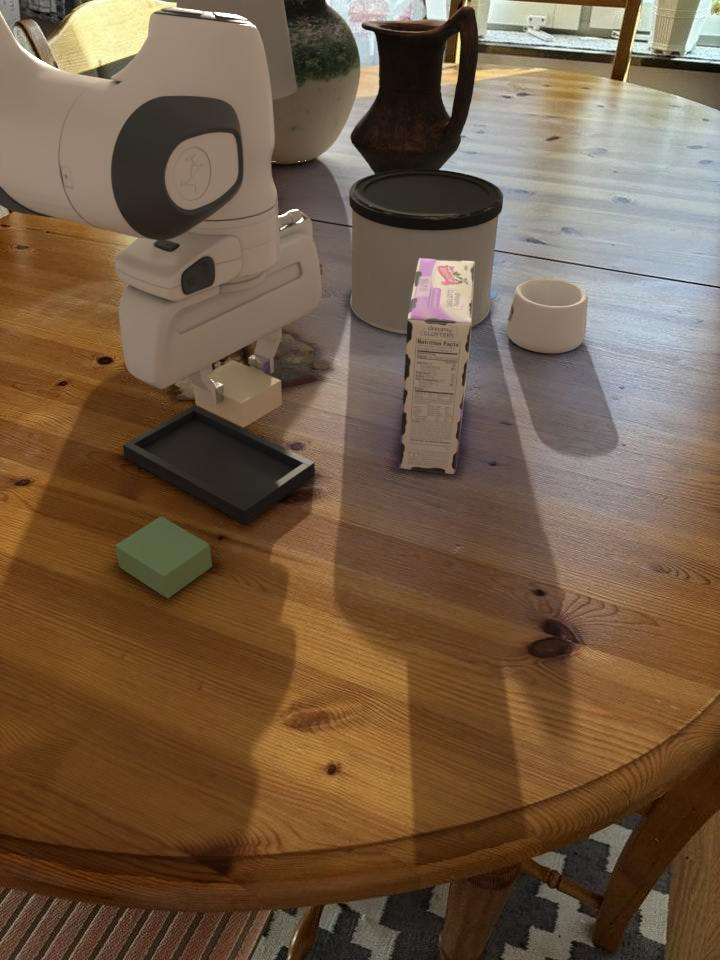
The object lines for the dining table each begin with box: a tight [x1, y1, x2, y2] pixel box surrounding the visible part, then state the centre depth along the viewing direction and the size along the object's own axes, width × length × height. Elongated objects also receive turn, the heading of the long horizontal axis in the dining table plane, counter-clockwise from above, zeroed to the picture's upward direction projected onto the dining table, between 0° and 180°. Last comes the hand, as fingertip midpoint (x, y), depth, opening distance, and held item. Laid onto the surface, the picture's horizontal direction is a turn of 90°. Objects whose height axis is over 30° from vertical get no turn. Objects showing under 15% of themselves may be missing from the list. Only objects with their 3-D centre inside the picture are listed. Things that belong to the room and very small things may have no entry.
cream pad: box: [193, 360, 283, 429], centre depth 77 cm, size 5×6×2 cm
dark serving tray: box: [122, 404, 316, 525], centre depth 84 cm, size 10×17×2 cm, turn 52°
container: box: [348, 169, 504, 335], centre depth 110 cm, size 19×19×15 cm
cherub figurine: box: [174, 261, 329, 401], centre depth 96 cm, size 18×18×18 cm
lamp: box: [176, 0, 297, 174], centre depth 136 cm, size 19×19×34 cm
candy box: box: [398, 258, 475, 475], centre depth 84 cm, size 14×6×16 cm, turn 172°
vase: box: [271, 0, 361, 165], centre depth 158 cm, size 28×28×30 cm
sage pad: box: [115, 515, 213, 599], centre depth 72 cm, size 5×6×2 cm
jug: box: [350, 5, 479, 174], centre depth 140 cm, size 21×18×30 cm
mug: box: [505, 278, 589, 354], centre depth 106 cm, size 12×10×6 cm
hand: (237, 388), depth 76 cm, fingers closed on cream pad, 5 cm apart
